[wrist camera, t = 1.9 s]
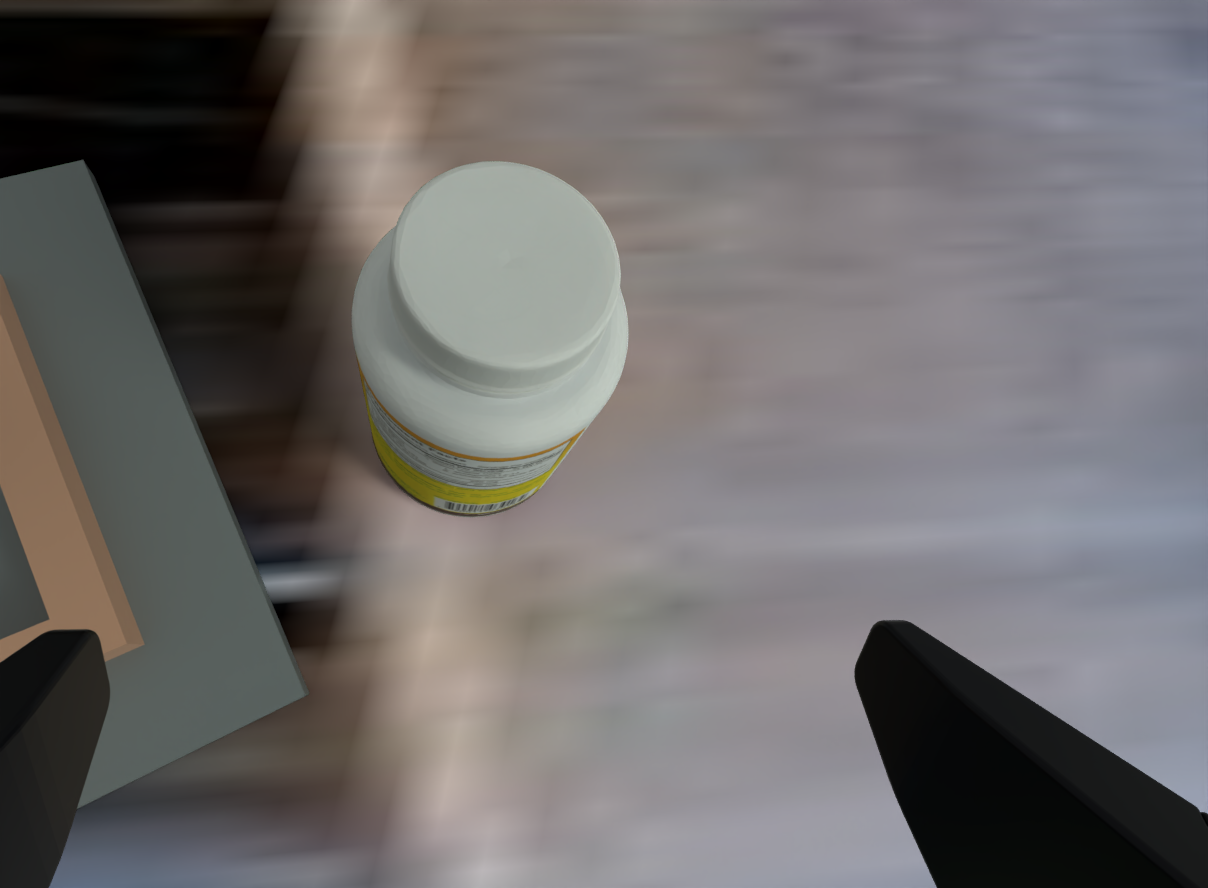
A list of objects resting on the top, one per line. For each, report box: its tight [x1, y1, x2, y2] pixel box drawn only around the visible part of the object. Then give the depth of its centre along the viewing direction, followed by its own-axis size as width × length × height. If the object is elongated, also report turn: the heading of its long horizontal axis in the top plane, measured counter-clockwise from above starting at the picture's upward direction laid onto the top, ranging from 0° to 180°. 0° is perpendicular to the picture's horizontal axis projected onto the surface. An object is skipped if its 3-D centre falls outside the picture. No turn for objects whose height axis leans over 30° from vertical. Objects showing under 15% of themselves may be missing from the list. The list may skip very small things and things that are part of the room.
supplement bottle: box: [352, 161, 628, 517], centre depth 17 cm, size 6×6×10 cm
